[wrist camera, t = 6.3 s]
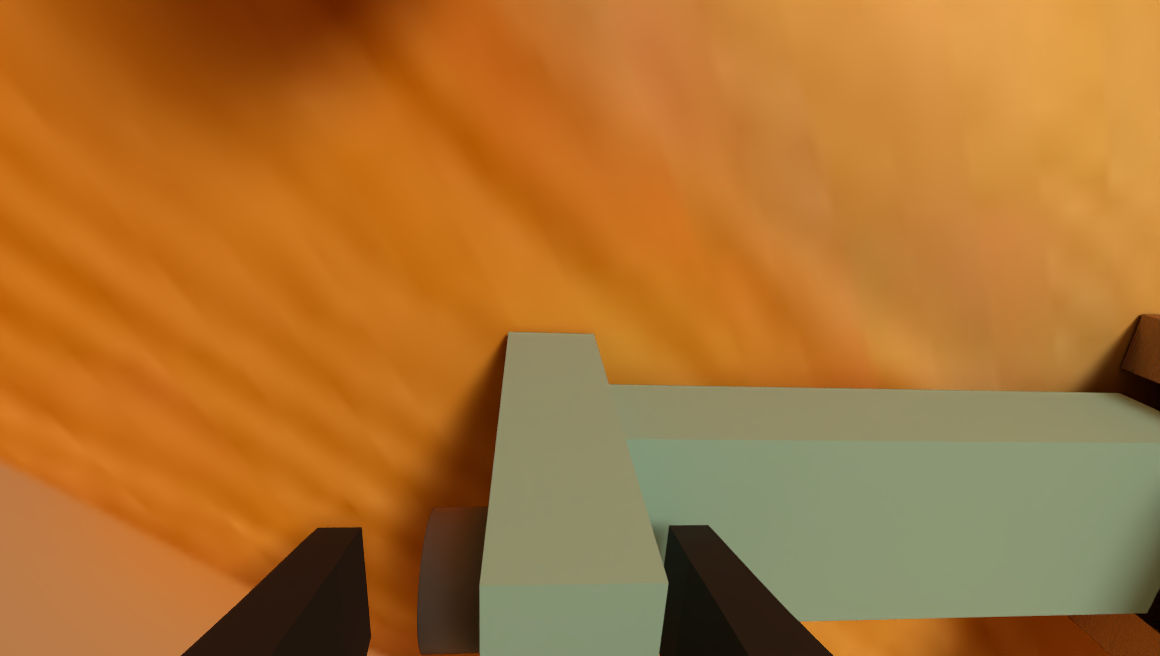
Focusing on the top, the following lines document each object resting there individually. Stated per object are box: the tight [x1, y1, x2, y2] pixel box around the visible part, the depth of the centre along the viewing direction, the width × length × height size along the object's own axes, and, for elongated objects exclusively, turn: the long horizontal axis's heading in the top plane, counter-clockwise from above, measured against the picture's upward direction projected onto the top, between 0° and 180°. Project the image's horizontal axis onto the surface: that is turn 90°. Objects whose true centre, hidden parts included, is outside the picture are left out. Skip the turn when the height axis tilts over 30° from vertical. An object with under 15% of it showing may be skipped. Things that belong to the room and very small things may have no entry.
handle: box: [417, 332, 1160, 656], centre depth 9 cm, size 14×6×6 cm, turn 87°
